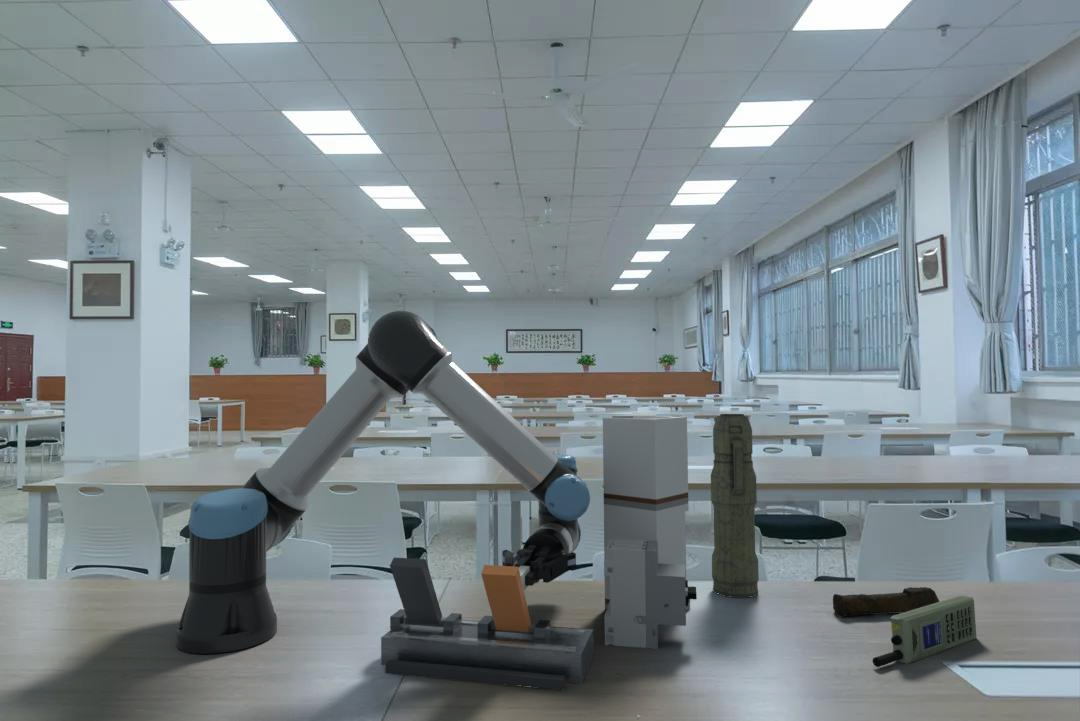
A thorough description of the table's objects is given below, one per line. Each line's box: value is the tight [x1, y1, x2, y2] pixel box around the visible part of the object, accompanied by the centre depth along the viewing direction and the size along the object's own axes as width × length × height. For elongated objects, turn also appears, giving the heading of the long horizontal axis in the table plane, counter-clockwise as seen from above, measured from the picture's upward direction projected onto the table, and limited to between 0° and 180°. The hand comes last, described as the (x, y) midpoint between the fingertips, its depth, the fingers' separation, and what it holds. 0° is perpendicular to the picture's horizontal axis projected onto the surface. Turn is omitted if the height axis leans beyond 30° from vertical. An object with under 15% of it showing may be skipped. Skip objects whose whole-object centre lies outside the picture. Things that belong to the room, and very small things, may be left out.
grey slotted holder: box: [380, 608, 594, 684], centre depth 104 cm, size 30×10×6 cm, turn 76°
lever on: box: [389, 557, 444, 627], centre depth 104 cm, size 6×2×13 cm
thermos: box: [710, 413, 760, 599], centre depth 139 cm, size 9×12×35 cm
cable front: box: [384, 660, 566, 691], centre depth 97 cm, size 26×1×1 cm, turn 76°
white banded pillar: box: [602, 415, 691, 611], centre depth 128 cm, size 11×11×35 cm
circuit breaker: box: [603, 539, 698, 649], centre depth 113 cm, size 8×14×15 cm, turn 78°
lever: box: [480, 564, 535, 634], centre depth 100 cm, size 6×2×13 cm
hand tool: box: [832, 586, 940, 618], centre depth 124 cm, size 19×4×5 cm, turn 92°
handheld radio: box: [872, 595, 977, 668], centre depth 106 cm, size 7×3×25 cm
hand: (514, 586), depth 101 cm, fingers closed
